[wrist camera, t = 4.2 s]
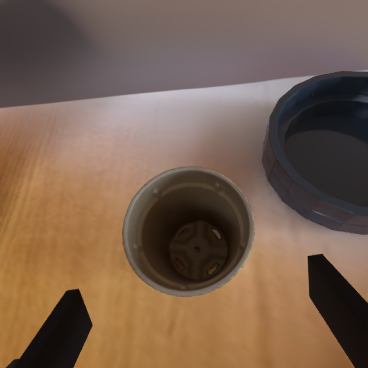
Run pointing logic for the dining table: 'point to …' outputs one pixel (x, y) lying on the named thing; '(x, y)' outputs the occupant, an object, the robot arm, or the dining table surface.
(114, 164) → the dining table surface
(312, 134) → the bowl
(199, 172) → the flower pot
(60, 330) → the robot arm
